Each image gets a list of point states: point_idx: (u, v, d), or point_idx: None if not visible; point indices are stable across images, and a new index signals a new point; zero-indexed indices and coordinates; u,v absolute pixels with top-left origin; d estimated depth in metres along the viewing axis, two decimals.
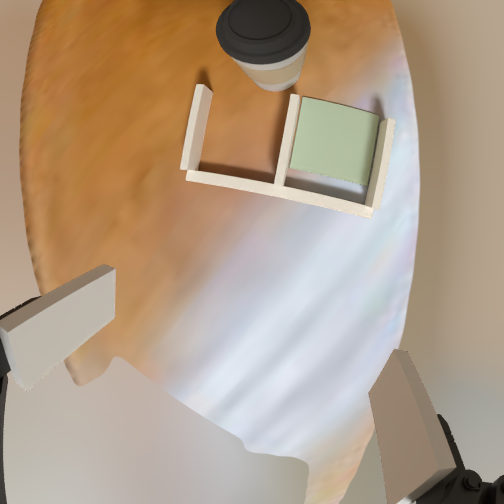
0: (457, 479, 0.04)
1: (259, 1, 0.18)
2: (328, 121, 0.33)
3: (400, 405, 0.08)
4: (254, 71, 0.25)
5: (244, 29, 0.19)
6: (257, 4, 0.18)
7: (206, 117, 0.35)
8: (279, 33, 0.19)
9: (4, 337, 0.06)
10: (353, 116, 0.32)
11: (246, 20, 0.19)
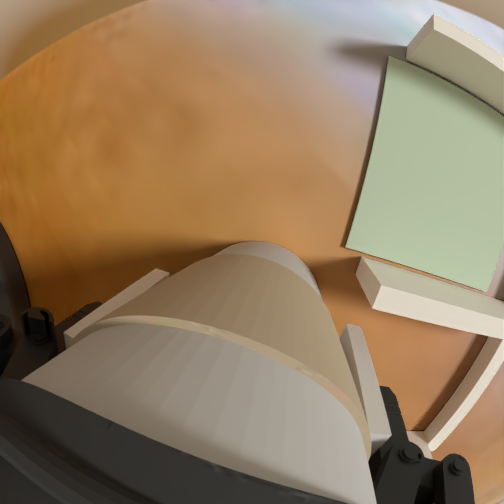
0: (391, 451, 0.05)
1: None
2: (416, 189, 0.12)
3: None
4: None
5: None
6: None
7: None
8: None
9: None
10: (401, 120, 0.11)
11: None
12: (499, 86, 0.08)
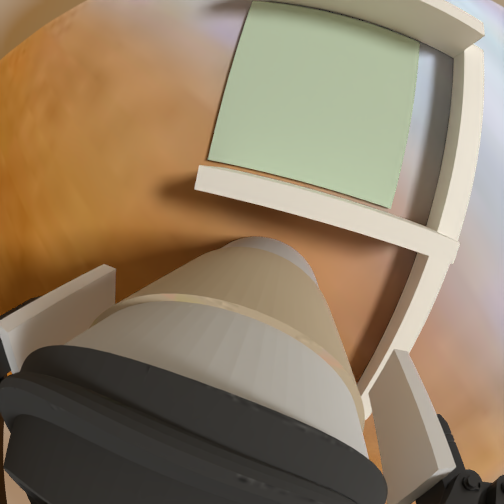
0: (457, 479, 0.04)
1: None
2: (275, 100, 0.13)
3: (400, 405, 0.08)
4: None
5: None
6: None
7: None
8: None
9: (4, 337, 0.06)
10: (259, 46, 0.12)
11: None
12: None
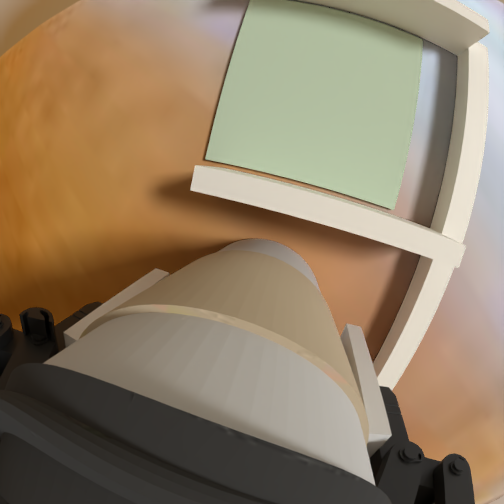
0: (392, 451, 0.05)
1: None
2: (274, 98, 0.13)
3: None
4: None
5: None
6: None
7: None
8: None
9: None
10: (258, 43, 0.12)
11: None
12: None
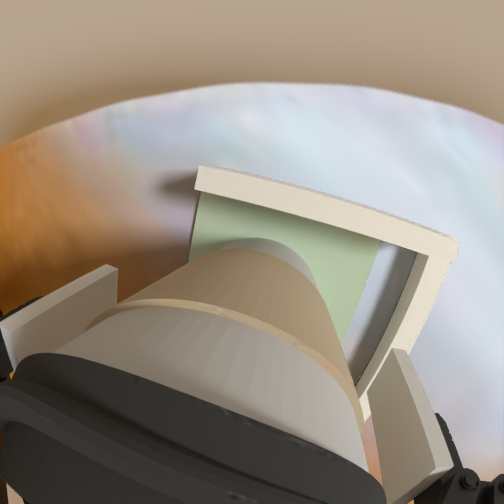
0: (454, 478, 0.04)
1: None
2: None
3: (398, 403, 0.08)
4: None
5: None
6: None
7: None
8: None
9: (7, 337, 0.06)
10: (209, 252, 0.16)
11: None
12: None
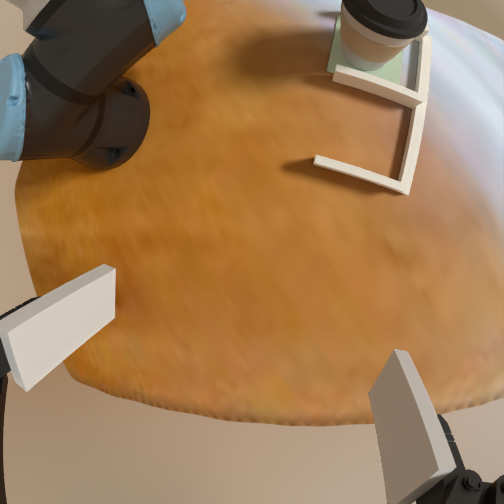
0: (457, 479, 0.04)
1: None
2: None
3: (400, 405, 0.08)
4: None
5: (403, 9, 0.15)
6: None
7: None
8: None
9: (4, 337, 0.06)
10: None
11: (392, 5, 0.15)
12: None
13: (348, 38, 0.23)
